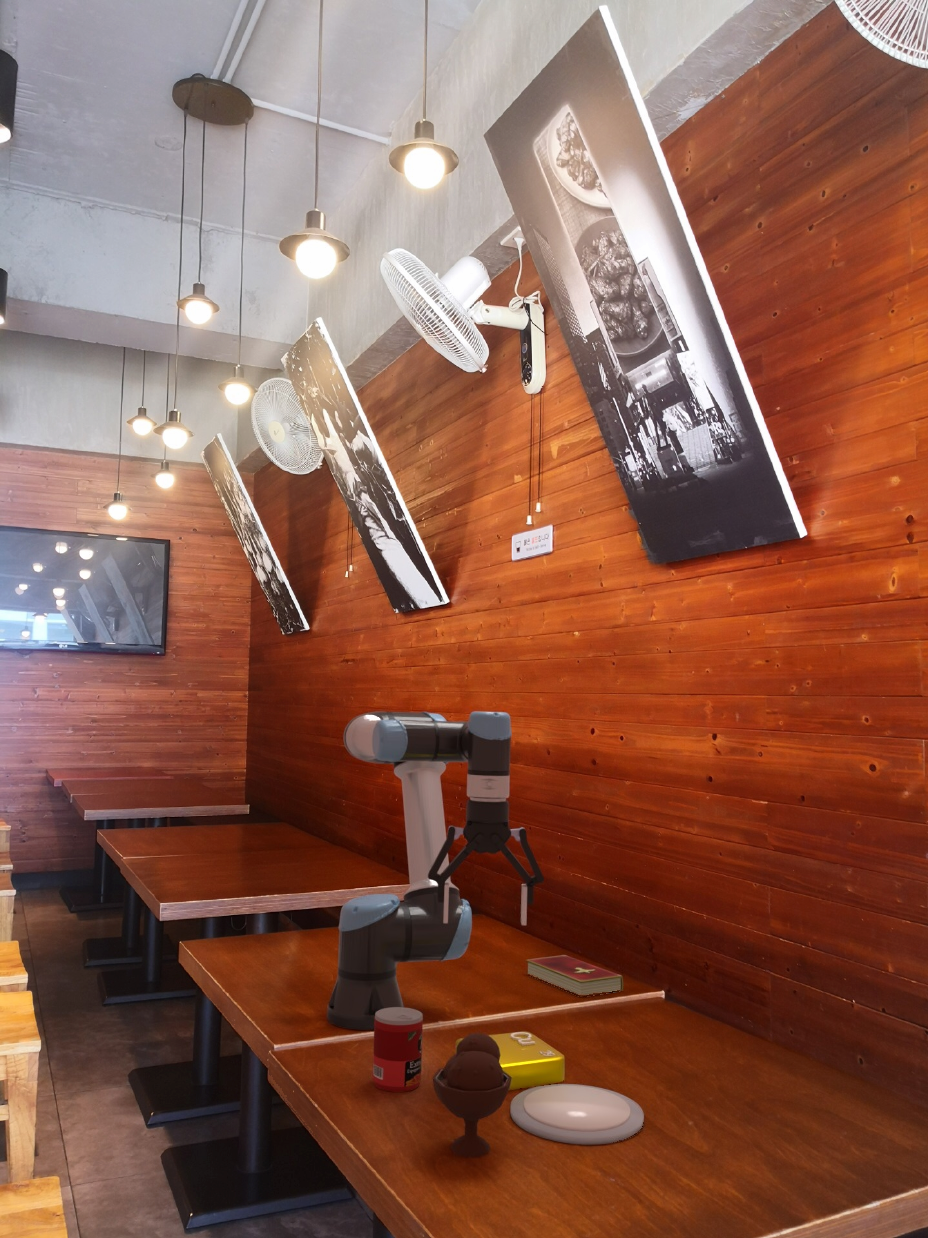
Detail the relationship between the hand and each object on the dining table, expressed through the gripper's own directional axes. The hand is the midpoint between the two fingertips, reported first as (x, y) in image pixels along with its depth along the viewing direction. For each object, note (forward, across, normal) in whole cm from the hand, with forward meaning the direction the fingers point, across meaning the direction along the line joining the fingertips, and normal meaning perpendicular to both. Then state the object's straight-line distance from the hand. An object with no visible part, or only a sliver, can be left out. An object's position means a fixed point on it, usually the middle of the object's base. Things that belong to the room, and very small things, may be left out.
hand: (484, 923), depth 167 cm
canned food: (+24, -14, -8) cm, 29 cm away
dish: (+24, +14, -20) cm, 34 cm away
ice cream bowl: (+24, -3, -32) cm, 40 cm away
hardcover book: (+25, +23, +56) cm, 65 cm away
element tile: (+25, +5, -2) cm, 25 cm away
